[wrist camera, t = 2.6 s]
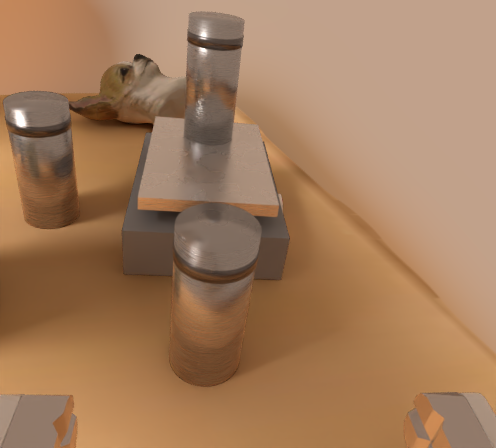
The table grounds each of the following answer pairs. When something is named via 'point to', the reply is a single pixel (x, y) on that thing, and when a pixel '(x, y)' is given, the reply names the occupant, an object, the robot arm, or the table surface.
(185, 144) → the scale pan
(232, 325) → the cylinder
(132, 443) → the table surface
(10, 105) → the cylinder
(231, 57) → the cylinder
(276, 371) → the table surface
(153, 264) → the scale body
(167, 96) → the ceramic sculpture
